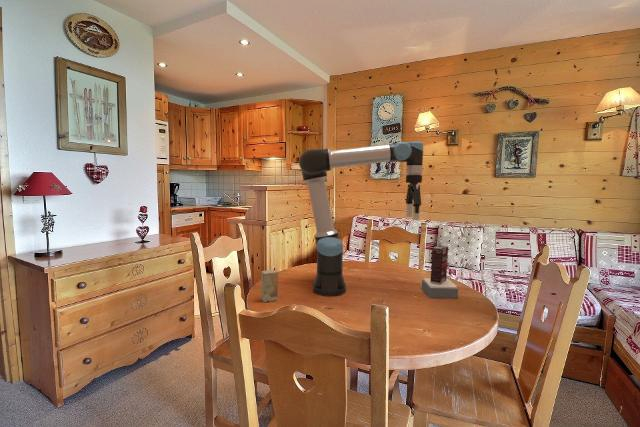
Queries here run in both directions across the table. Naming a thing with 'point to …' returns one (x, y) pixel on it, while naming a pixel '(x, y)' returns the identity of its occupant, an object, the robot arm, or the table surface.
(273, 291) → the skincare box
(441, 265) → the supplement box
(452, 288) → the platform
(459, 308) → the table surface
